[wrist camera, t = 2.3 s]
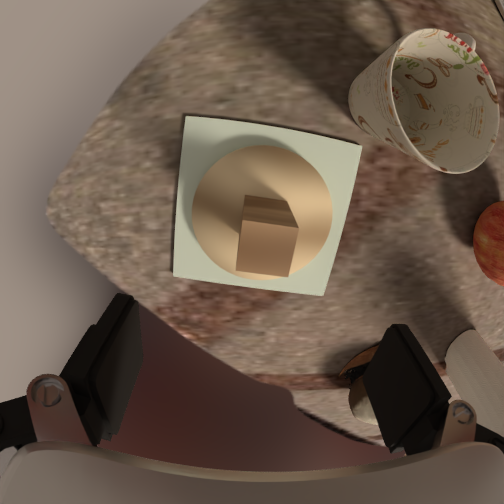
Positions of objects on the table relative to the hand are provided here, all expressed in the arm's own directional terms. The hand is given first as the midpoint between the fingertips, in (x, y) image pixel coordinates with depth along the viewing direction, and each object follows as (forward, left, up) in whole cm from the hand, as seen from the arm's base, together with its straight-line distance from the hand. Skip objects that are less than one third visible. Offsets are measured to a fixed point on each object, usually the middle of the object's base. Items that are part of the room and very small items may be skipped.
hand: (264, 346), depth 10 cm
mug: (-13, +9, -16) cm, 22 cm away
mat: (0, 0, -15) cm, 15 cm away
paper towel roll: (+14, +31, -15) cm, 37 cm away
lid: (0, 0, -15) cm, 15 cm away
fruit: (-3, +25, -16) cm, 30 cm away
